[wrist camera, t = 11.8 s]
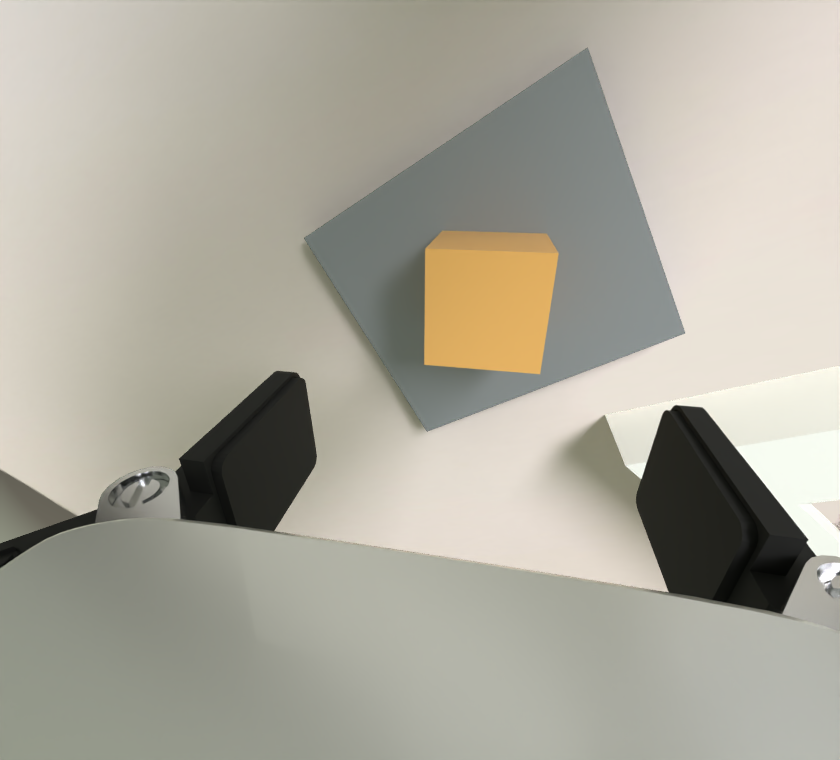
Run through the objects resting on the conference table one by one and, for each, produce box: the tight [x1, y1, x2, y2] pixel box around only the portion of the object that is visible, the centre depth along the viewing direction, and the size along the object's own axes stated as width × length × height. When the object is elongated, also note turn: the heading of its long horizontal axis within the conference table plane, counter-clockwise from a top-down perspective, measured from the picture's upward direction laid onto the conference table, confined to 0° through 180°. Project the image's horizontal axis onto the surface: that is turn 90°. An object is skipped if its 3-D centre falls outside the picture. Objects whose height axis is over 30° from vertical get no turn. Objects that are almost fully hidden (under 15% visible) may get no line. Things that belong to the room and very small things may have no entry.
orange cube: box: [424, 231, 559, 374], centre depth 23 cm, size 6×6×6 cm
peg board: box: [304, 48, 685, 432], centre depth 24 cm, size 16×18×6 cm
